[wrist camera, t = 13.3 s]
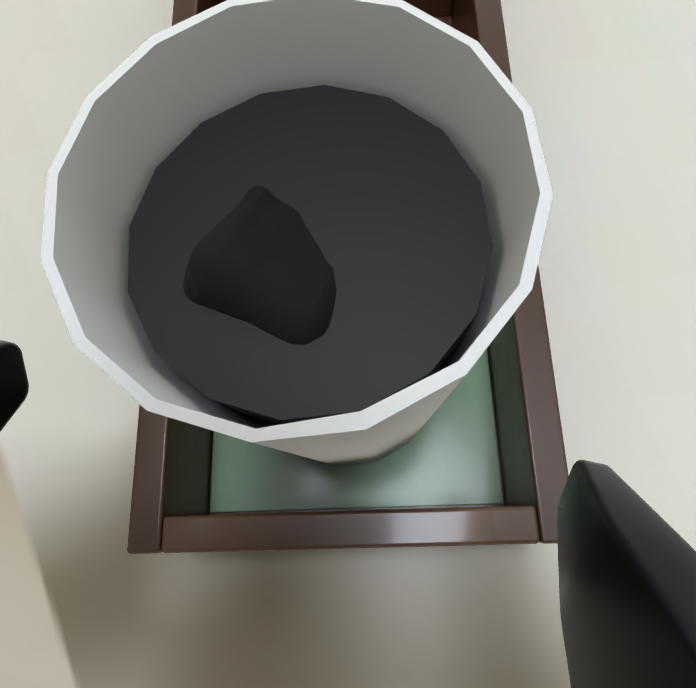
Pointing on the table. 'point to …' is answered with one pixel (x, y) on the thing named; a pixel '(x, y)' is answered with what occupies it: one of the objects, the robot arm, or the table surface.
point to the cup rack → (392, 470)
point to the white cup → (297, 221)
